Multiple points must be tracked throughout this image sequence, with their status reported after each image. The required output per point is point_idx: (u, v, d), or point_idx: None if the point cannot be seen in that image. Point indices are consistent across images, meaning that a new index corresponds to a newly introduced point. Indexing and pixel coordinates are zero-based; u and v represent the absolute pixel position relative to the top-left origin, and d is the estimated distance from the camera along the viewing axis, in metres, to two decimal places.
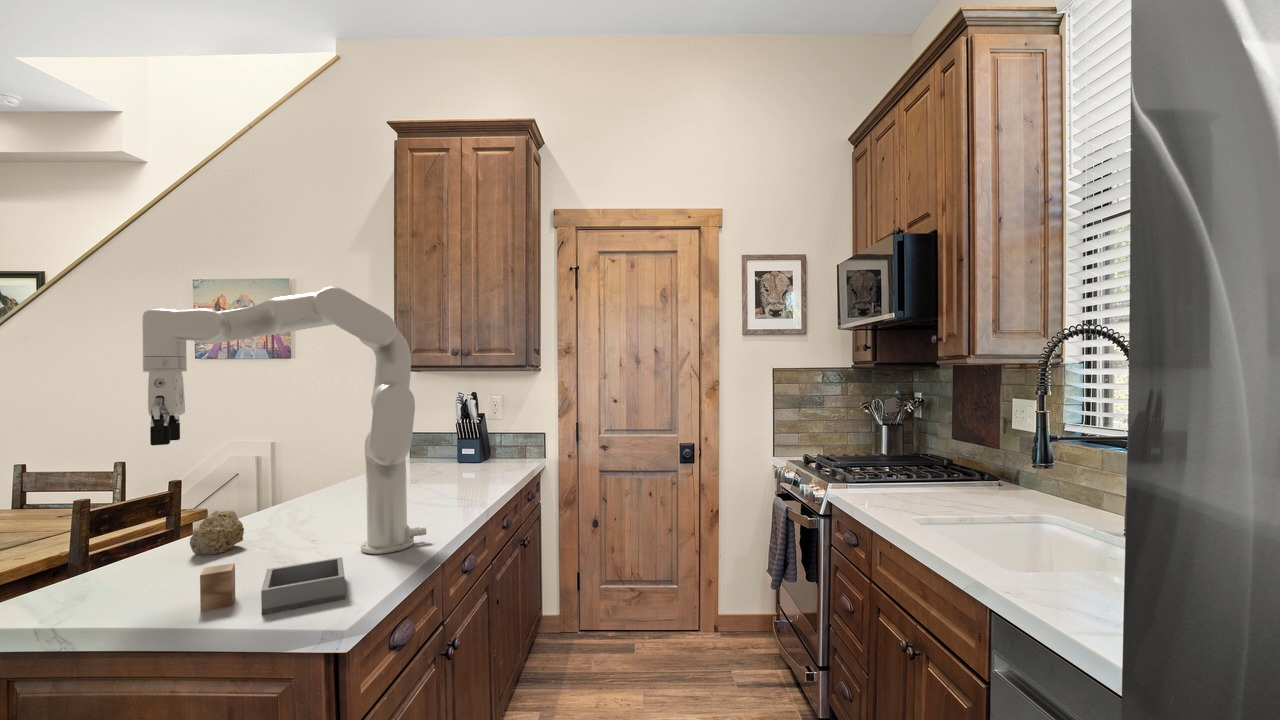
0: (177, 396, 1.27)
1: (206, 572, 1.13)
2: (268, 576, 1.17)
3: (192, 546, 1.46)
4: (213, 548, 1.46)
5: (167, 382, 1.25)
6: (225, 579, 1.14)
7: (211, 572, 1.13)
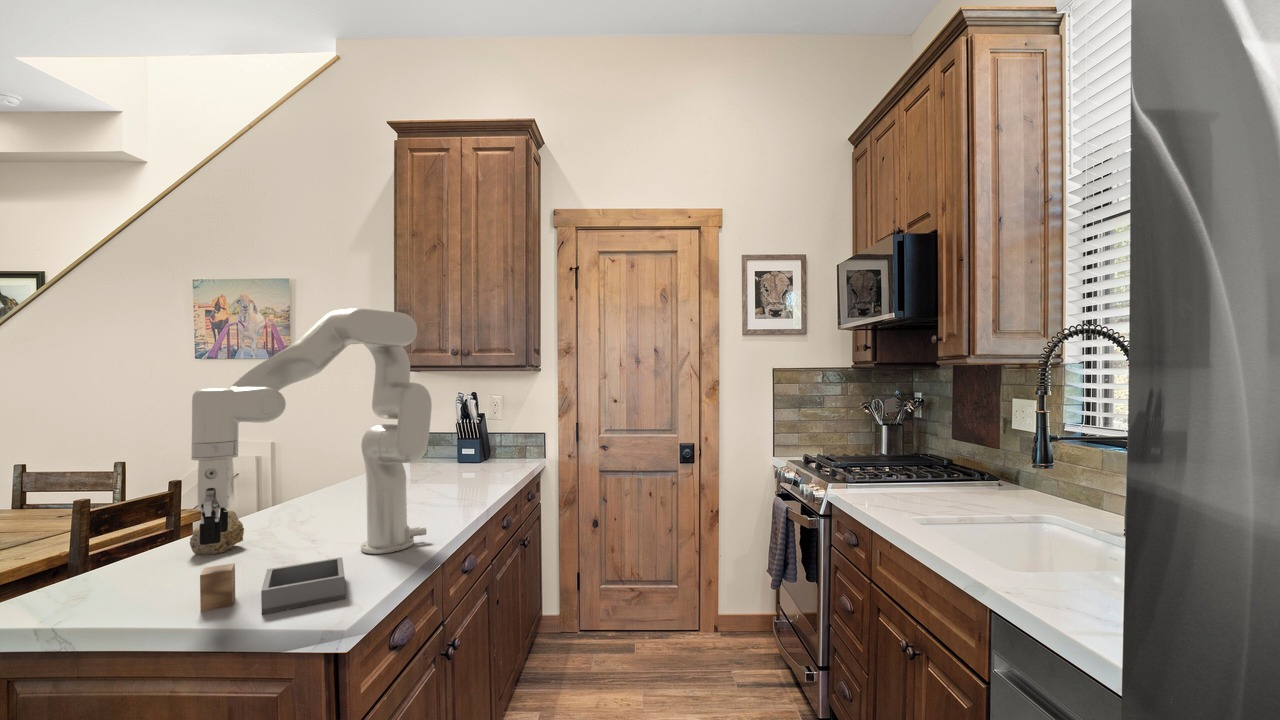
0: (229, 487, 1.13)
1: (206, 572, 1.13)
2: (268, 576, 1.17)
3: (192, 546, 1.46)
4: (213, 548, 1.46)
5: (219, 472, 1.11)
6: (225, 579, 1.14)
7: (211, 572, 1.13)
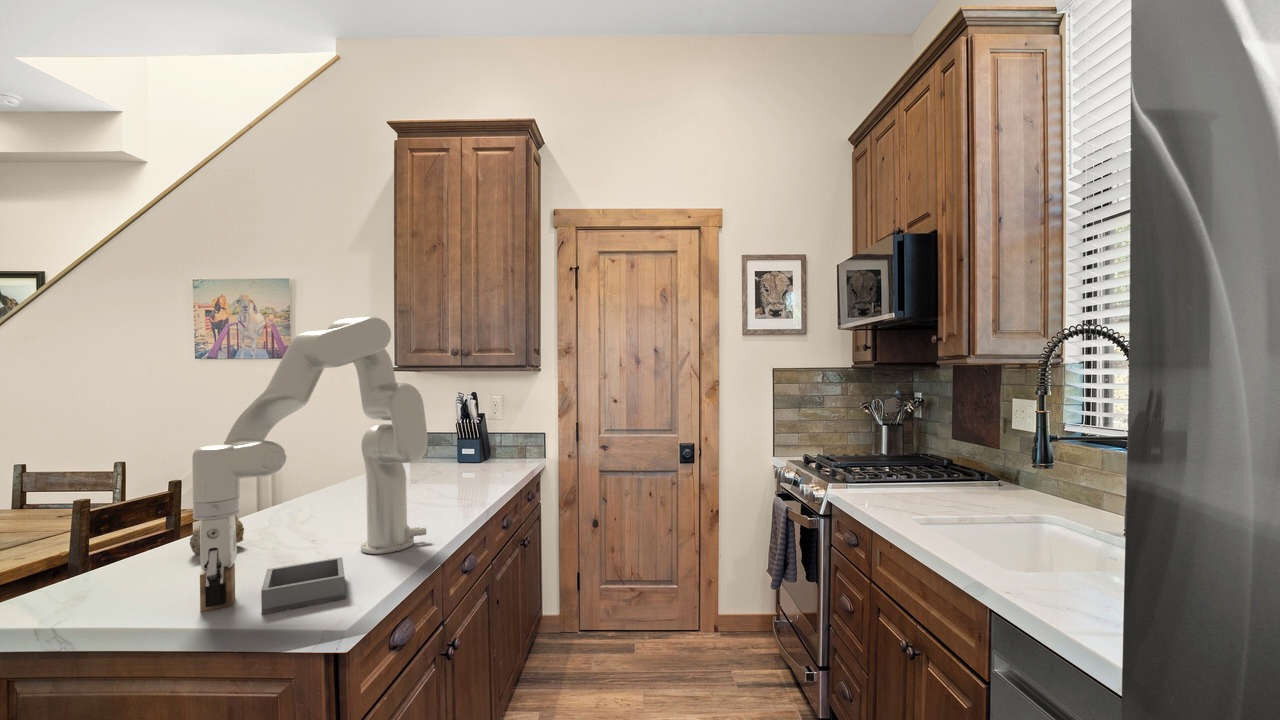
0: (231, 545, 1.13)
1: None
2: (268, 576, 1.17)
3: (192, 546, 1.46)
4: None
5: (221, 532, 1.11)
6: (225, 579, 1.13)
7: None
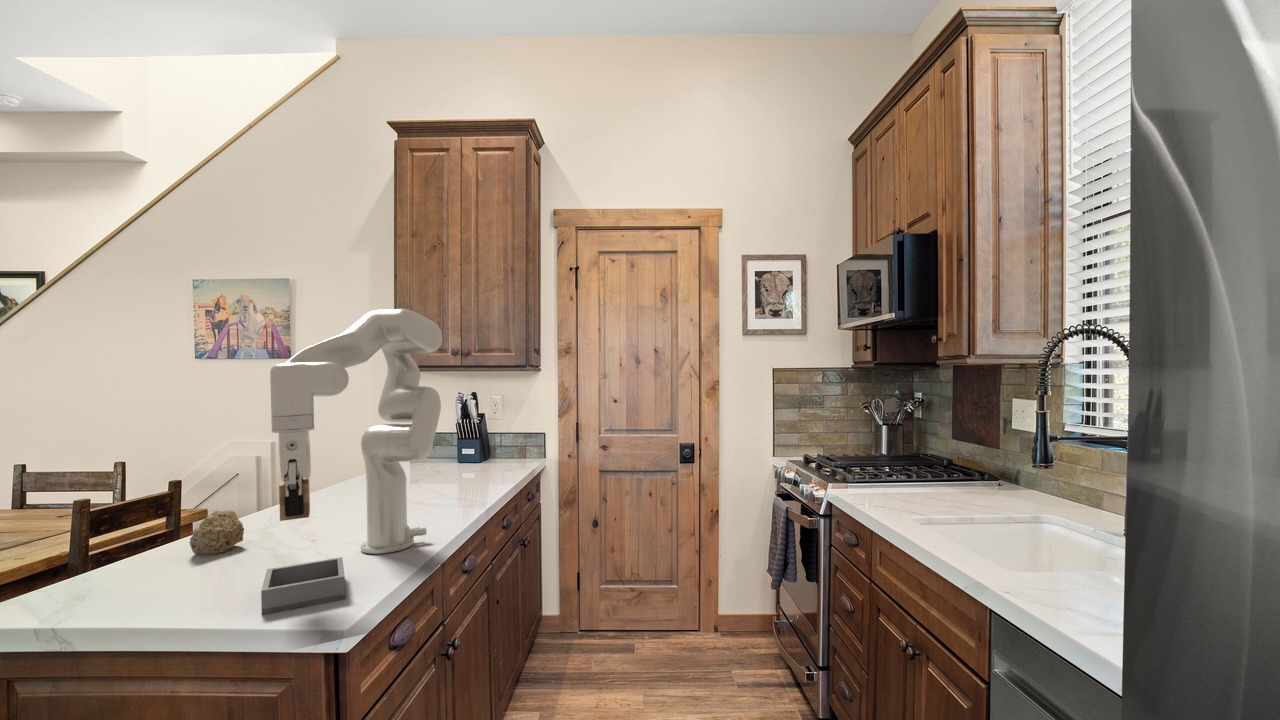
0: (308, 458, 1.17)
1: (284, 484, 1.17)
2: (268, 576, 1.17)
3: (192, 546, 1.46)
4: (213, 548, 1.46)
5: (299, 444, 1.15)
6: (302, 491, 1.17)
7: None
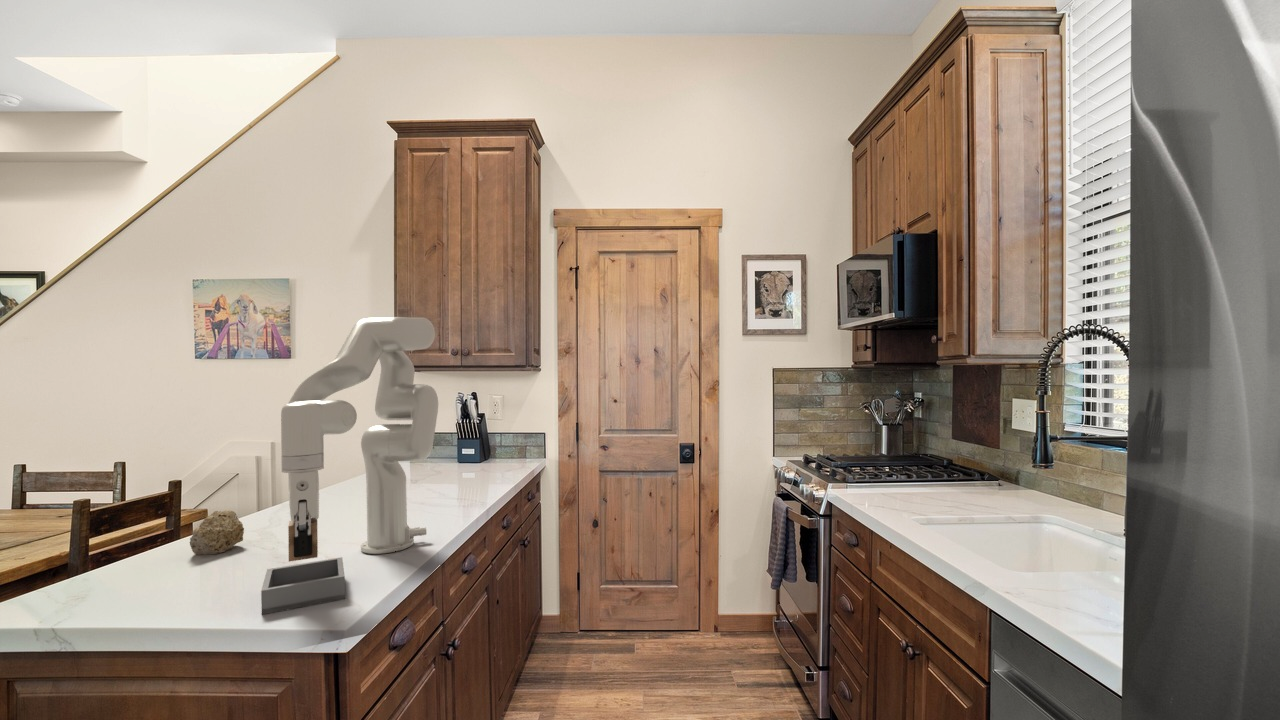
0: (318, 498, 1.17)
1: (293, 524, 1.17)
2: (268, 576, 1.17)
3: (192, 546, 1.46)
4: (213, 548, 1.46)
5: (309, 484, 1.15)
6: (311, 531, 1.17)
7: (298, 524, 1.17)
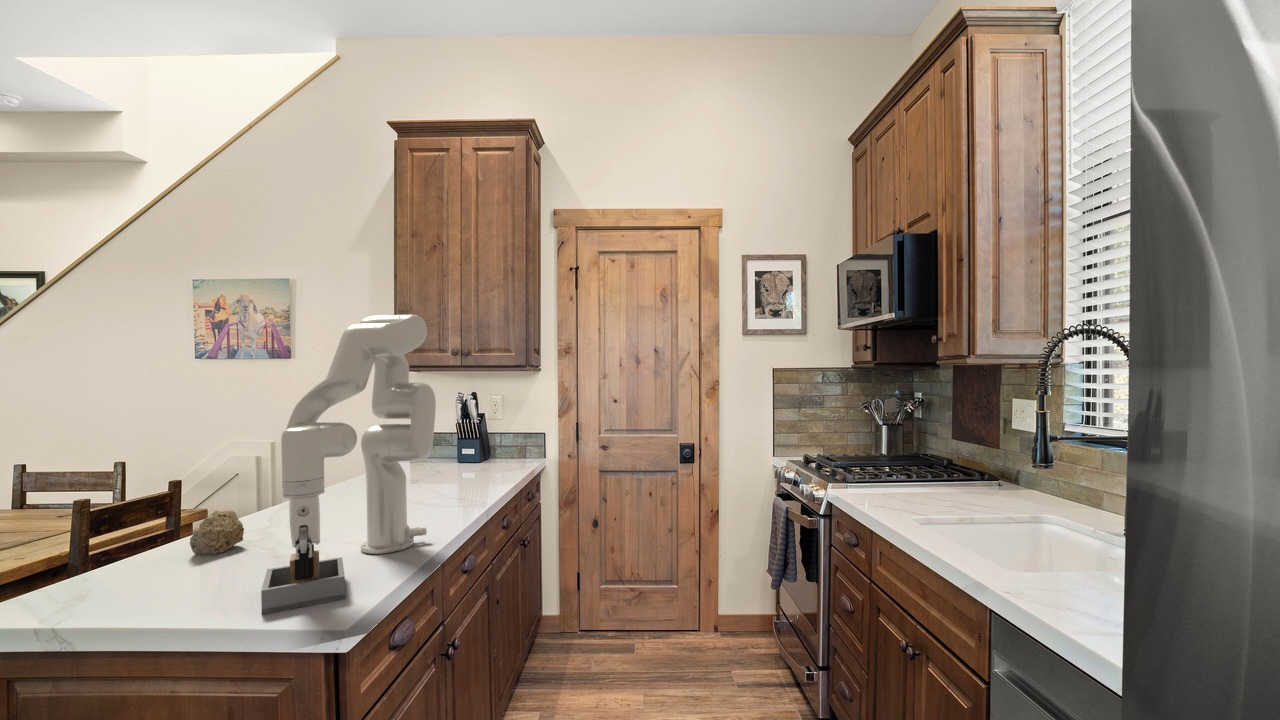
0: (319, 522, 1.17)
1: (295, 558, 1.17)
2: (268, 576, 1.17)
3: (192, 546, 1.46)
4: (213, 548, 1.46)
5: (310, 509, 1.15)
6: None
7: None
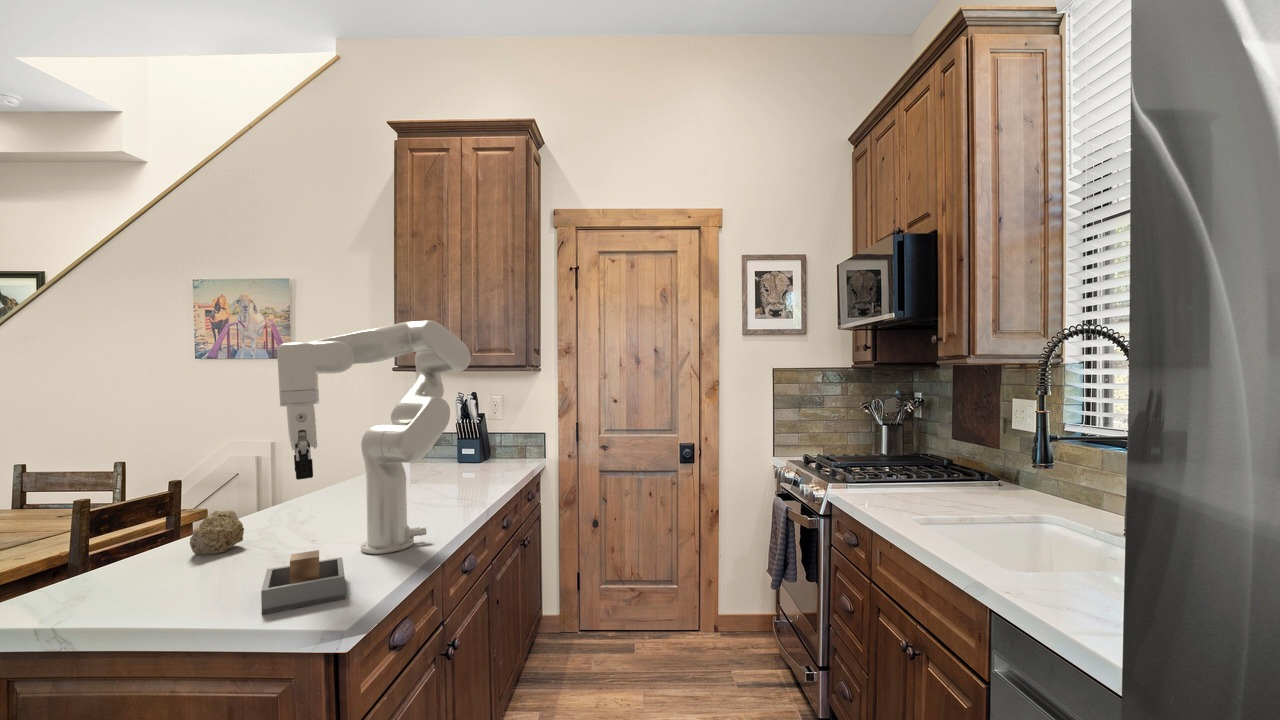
0: None
1: (295, 558, 1.17)
2: (268, 576, 1.17)
3: (192, 546, 1.46)
4: (213, 548, 1.46)
5: (308, 416, 1.26)
6: (313, 565, 1.17)
7: (299, 558, 1.17)
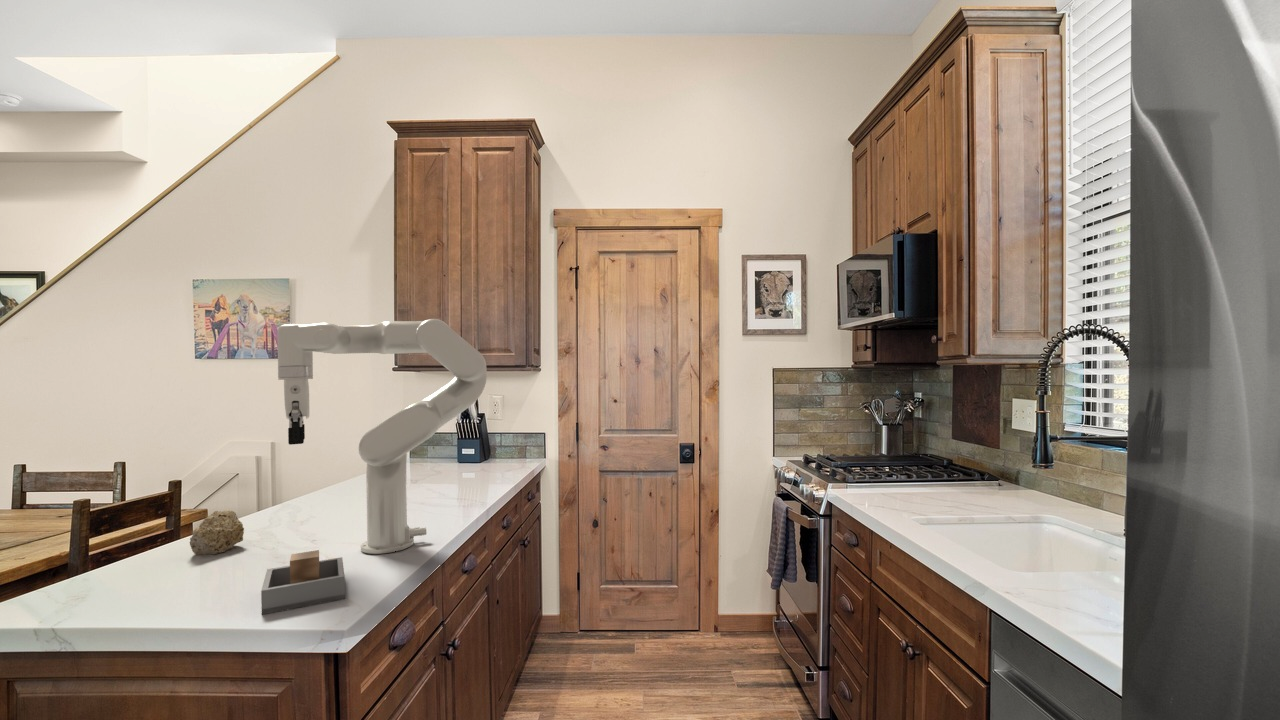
0: (308, 401, 1.44)
1: (295, 558, 1.17)
2: (268, 576, 1.17)
3: (192, 546, 1.46)
4: (213, 548, 1.46)
5: (301, 389, 1.42)
6: (313, 565, 1.17)
7: (299, 558, 1.17)
